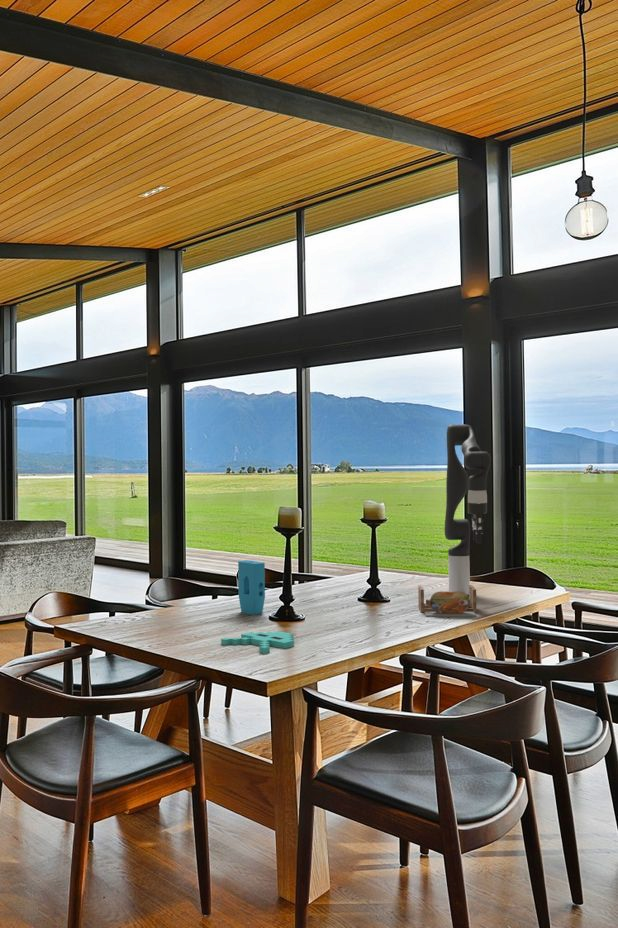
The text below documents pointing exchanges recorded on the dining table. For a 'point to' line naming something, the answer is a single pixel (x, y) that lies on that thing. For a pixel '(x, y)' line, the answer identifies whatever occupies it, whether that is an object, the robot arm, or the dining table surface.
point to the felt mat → (465, 614)
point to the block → (251, 586)
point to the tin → (449, 602)
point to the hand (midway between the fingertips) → (477, 542)
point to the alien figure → (263, 640)
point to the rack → (428, 608)
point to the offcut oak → (428, 602)
